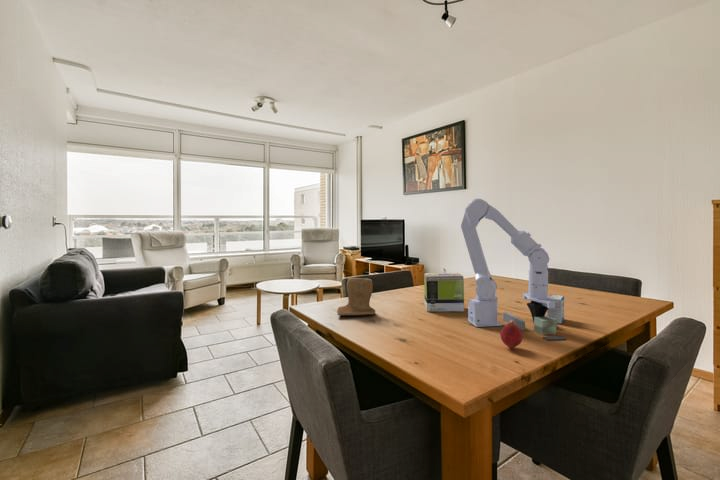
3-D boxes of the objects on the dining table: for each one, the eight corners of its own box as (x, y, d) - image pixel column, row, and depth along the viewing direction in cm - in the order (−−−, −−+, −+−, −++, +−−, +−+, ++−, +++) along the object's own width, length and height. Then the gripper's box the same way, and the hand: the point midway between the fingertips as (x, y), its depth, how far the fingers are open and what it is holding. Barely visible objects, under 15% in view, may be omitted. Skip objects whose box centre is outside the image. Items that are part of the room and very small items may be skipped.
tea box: (459, 306, 147) (459, 272, 146) (464, 312, 137) (464, 275, 136) (424, 306, 148) (423, 272, 148) (426, 312, 138) (426, 275, 138)
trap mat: (547, 340, 103) (547, 339, 103) (542, 338, 105) (542, 336, 105) (566, 339, 103) (566, 338, 103) (561, 337, 106) (561, 335, 106)
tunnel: (521, 330, 113) (521, 321, 113) (503, 320, 125) (503, 312, 125) (557, 328, 114) (557, 319, 114) (535, 318, 126) (535, 310, 126)
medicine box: (561, 324, 119) (561, 299, 119) (546, 322, 122) (547, 298, 121) (564, 319, 125) (564, 295, 125) (550, 317, 128) (550, 294, 128)
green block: (542, 334, 108) (542, 320, 108) (534, 330, 113) (534, 316, 113) (555, 334, 109) (555, 320, 109) (547, 329, 113) (547, 316, 113)
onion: (521, 353, 93) (521, 324, 93) (498, 349, 96) (498, 321, 96) (523, 347, 98) (524, 319, 98) (502, 343, 101) (502, 316, 101)
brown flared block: (373, 310, 143) (373, 274, 142) (376, 317, 131) (376, 278, 130) (337, 311, 142) (336, 275, 141) (337, 319, 130) (336, 280, 129)
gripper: (564, 287, 107) (563, 330, 108) (536, 280, 121) (536, 318, 122) (543, 288, 106) (542, 331, 107) (517, 281, 121) (517, 318, 121)
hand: (537, 324), depth 114 cm, fingers closed
